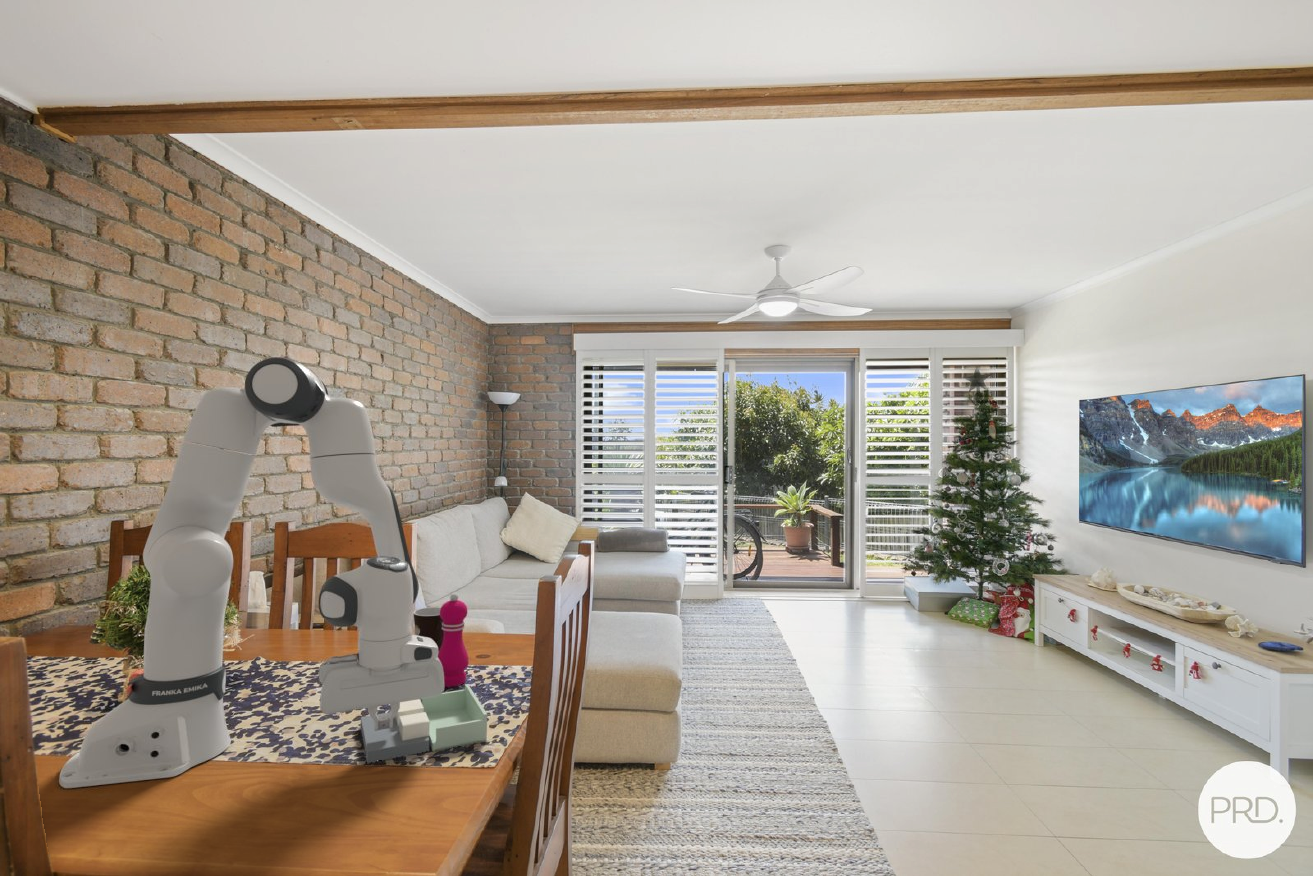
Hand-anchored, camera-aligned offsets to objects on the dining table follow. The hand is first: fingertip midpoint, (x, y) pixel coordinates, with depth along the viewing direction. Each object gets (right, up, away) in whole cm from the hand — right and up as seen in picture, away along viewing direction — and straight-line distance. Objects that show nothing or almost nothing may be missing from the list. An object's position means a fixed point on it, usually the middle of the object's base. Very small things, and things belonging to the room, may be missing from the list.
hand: (383, 728), depth 114 cm
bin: (+9, -4, +9) cm, 13 cm away
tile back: (+2, -2, +8) cm, 8 cm away
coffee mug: (-10, -4, +52) cm, 53 cm away
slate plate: (0, -4, +4) cm, 5 cm away
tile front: (+5, -2, +2) cm, 5 cm away
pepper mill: (+2, -4, +32) cm, 33 cm away
